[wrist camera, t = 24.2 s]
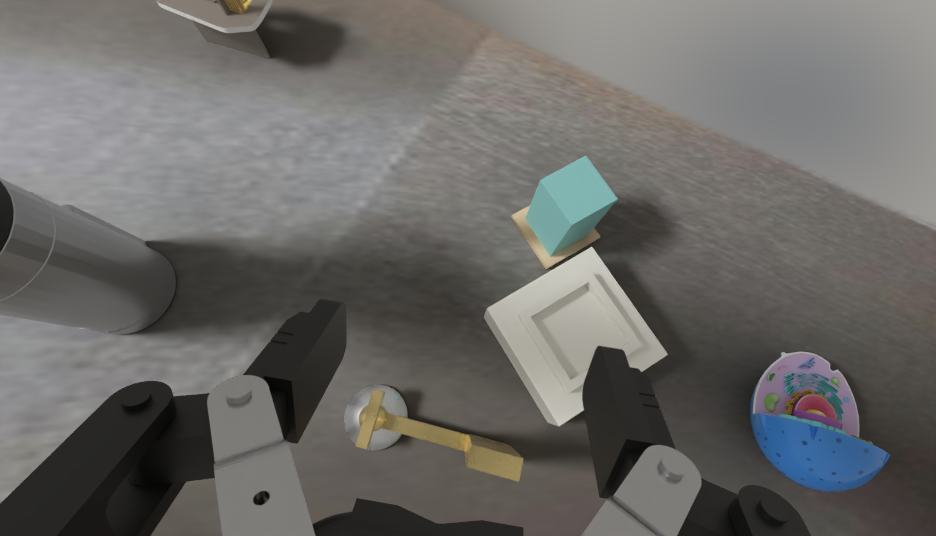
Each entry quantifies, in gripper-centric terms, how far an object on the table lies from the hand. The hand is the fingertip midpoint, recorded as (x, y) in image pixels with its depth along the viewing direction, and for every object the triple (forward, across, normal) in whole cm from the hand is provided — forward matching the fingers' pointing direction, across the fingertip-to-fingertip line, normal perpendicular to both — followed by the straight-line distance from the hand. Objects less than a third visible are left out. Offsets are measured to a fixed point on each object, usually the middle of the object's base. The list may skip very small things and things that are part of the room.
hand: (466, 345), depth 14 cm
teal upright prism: (+34, -8, +9) cm, 36 cm away
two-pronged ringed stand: (+47, +33, -3) cm, 58 cm away
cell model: (+23, -32, +21) cm, 44 cm away
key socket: (+18, +7, +25) cm, 32 cm away
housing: (+26, -10, +18) cm, 33 cm away
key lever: (+17, +2, +25) cm, 31 cm away
